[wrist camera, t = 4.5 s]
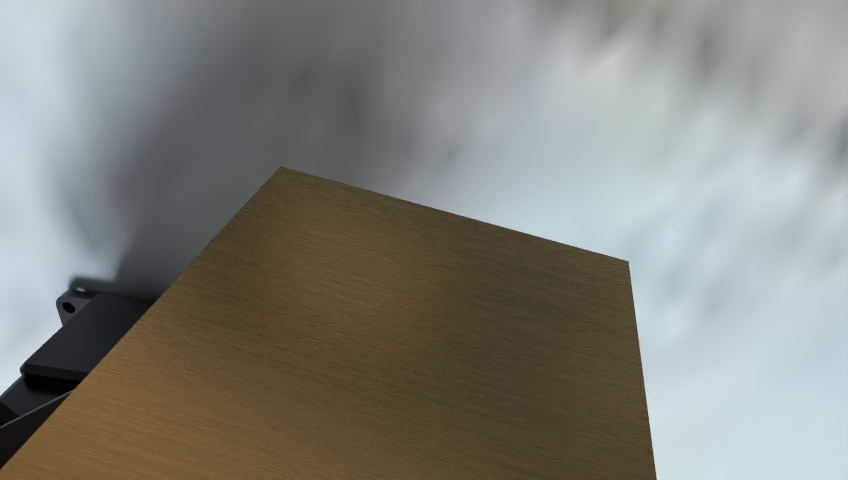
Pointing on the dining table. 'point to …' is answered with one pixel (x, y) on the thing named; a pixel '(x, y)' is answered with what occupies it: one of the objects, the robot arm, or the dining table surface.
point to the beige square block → (364, 356)
